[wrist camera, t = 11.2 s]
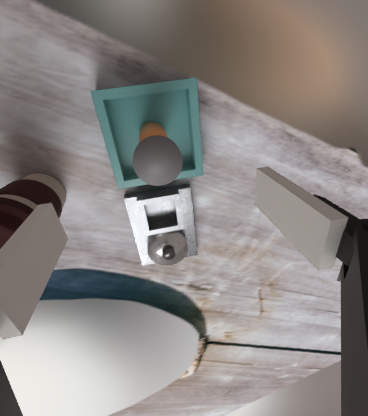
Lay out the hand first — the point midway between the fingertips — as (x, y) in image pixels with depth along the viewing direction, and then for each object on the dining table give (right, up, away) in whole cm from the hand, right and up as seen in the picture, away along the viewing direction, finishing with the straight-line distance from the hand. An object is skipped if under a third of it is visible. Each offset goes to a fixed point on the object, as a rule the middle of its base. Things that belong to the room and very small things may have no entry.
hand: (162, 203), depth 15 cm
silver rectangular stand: (-3, -4, +31) cm, 31 cm away
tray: (-4, +12, +22) cm, 25 cm away
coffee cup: (-23, +2, +24) cm, 33 cm away
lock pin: (-4, +11, +21) cm, 24 cm away
